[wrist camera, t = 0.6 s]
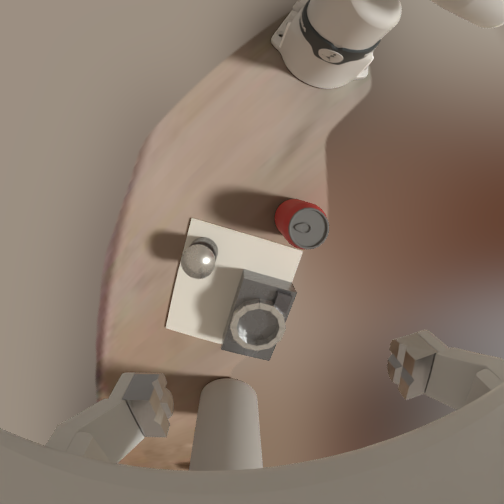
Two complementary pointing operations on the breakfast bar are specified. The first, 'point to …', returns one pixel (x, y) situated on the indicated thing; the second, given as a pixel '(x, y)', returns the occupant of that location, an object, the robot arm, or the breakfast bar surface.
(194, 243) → the lens
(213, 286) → the mat
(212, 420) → the cylinder vase
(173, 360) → the breakfast bar surface
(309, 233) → the beer can
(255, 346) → the camera body
